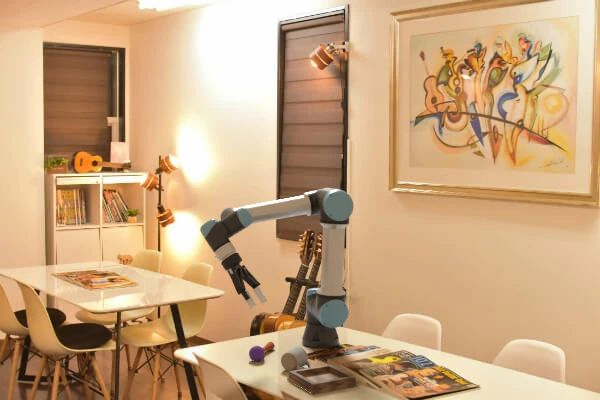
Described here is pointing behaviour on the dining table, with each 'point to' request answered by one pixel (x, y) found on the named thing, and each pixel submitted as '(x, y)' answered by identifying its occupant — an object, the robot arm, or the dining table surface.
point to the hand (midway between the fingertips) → (259, 304)
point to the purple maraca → (260, 351)
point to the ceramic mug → (295, 359)
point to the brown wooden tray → (322, 379)
